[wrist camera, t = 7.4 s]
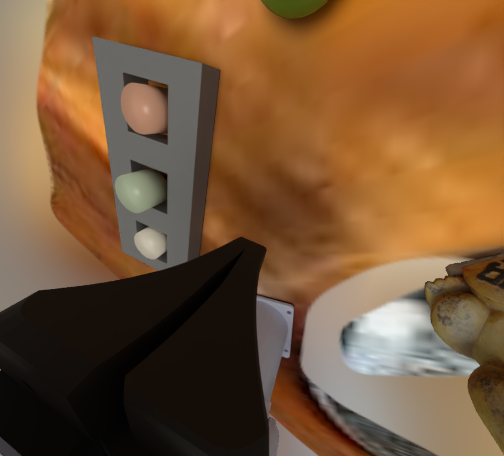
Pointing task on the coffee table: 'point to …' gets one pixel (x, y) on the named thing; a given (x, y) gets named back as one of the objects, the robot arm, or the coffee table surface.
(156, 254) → the cream button
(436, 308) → the decorative figurine
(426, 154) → the coffee table surface
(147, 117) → the terracotta button
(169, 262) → the button panel
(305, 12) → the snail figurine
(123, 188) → the sage button
